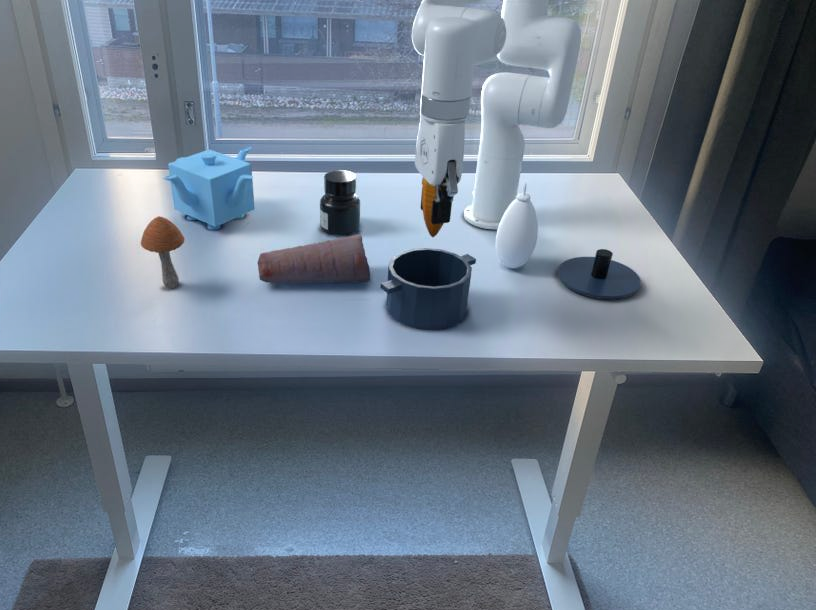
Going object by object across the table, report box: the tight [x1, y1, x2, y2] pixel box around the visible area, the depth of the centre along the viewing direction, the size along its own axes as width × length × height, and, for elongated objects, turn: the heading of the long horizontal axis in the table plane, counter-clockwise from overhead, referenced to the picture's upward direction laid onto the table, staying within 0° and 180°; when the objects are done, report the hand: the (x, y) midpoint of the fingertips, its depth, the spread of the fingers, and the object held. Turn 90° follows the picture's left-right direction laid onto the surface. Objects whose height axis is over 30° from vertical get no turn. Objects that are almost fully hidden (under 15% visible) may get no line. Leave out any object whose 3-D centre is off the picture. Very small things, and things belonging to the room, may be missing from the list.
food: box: [257, 233, 371, 285], centre depth 135 cm, size 21×9×9 cm, turn 100°
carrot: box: [421, 177, 447, 238], centre depth 117 cm, size 5×5×15 cm
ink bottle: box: [319, 169, 361, 236], centre depth 153 cm, size 10×9×12 cm
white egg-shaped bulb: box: [495, 182, 539, 269], centre depth 137 cm, size 8×8×18 cm
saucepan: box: [380, 247, 477, 331], centre depth 128 cm, size 15×20×8 cm
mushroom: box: [140, 215, 186, 290], centre depth 131 cm, size 8×8×15 cm
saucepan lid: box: [556, 248, 642, 300], centre depth 136 cm, size 16×16×6 cm
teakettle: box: [163, 146, 255, 230], centre depth 157 cm, size 19×19×15 cm
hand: (434, 214), depth 119 cm, fingers closed on carrot, 4 cm apart
